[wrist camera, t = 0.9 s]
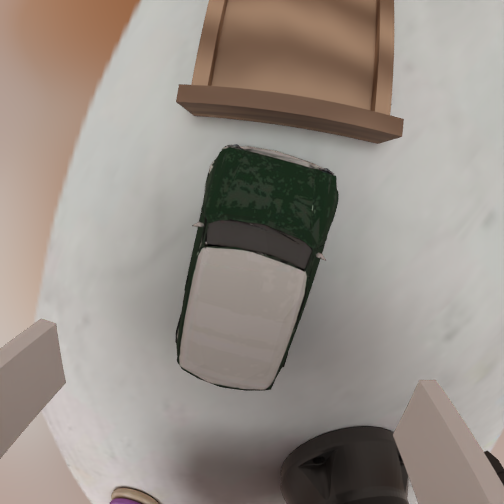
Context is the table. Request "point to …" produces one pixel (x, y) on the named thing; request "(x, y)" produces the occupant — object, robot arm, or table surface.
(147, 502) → the stacking toy
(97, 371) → the table surface
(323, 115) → the cradle
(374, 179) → the table surface
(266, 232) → the miniature car
